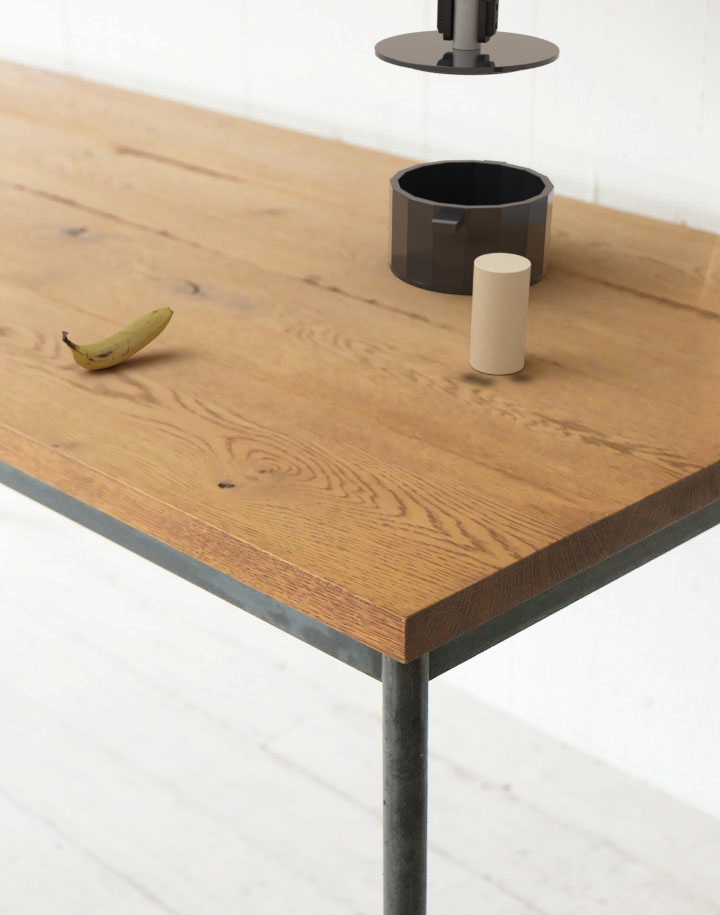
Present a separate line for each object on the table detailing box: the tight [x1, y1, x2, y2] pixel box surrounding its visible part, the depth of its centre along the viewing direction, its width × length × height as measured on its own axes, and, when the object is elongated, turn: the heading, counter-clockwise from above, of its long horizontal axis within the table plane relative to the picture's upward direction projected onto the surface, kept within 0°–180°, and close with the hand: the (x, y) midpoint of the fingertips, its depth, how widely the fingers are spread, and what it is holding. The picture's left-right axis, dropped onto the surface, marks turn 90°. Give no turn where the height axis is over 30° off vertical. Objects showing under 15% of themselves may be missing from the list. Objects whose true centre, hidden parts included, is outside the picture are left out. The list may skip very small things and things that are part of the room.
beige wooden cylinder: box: [469, 253, 531, 376], centre depth 112 cm, size 5×5×9 cm
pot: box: [387, 159, 555, 296], centre depth 132 cm, size 16×21×8 cm
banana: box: [61, 307, 174, 371], centre depth 113 cm, size 10×2×4 cm, turn 126°
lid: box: [373, 0, 561, 76], centre depth 122 cm, size 17×17×7 cm
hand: (467, 39), depth 122 cm, fingers closed on lid, 2 cm apart
